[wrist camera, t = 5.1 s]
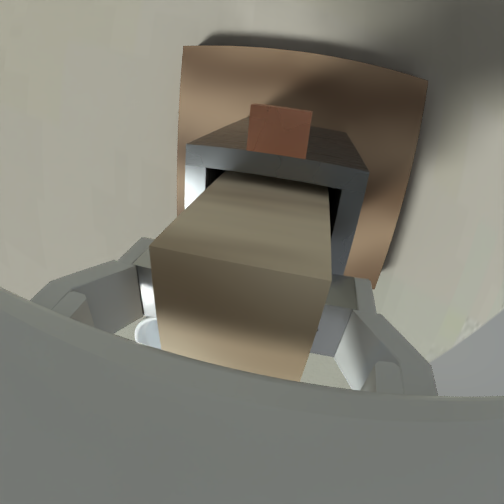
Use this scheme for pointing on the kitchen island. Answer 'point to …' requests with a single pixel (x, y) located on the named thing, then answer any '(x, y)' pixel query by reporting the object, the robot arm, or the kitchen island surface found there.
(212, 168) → the metal sleeve
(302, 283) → the beech post
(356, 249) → the stand base
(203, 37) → the kitchen island surface
